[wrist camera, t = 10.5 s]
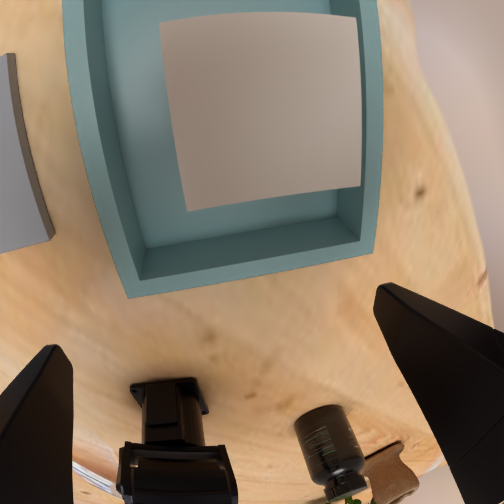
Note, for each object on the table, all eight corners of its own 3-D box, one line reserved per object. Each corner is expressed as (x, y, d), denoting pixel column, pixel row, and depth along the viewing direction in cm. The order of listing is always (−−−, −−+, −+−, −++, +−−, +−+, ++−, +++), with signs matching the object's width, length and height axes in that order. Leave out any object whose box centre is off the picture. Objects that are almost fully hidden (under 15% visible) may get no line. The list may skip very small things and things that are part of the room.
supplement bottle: (348, 413, 37) (379, 484, 26) (304, 434, 37) (329, 505, 27) (334, 398, 33) (370, 481, 23) (285, 421, 34) (311, 505, 24)
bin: (344, 223, 20) (372, 253, 17) (136, 259, 19) (128, 298, 15) (332, -40, 11) (365, -61, 8) (87, -20, 9) (63, -43, 6)
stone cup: (400, 434, 51) (427, 487, 39) (402, 445, 58) (424, 490, 45) (338, 465, 53) (359, 520, 40) (348, 472, 59) (366, 518, 46)
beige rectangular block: (273, 47, 13) (356, 17, 6) (280, 135, 16) (360, 186, 9) (175, 57, 13) (159, 22, 5) (187, 148, 15) (187, 211, 8)
